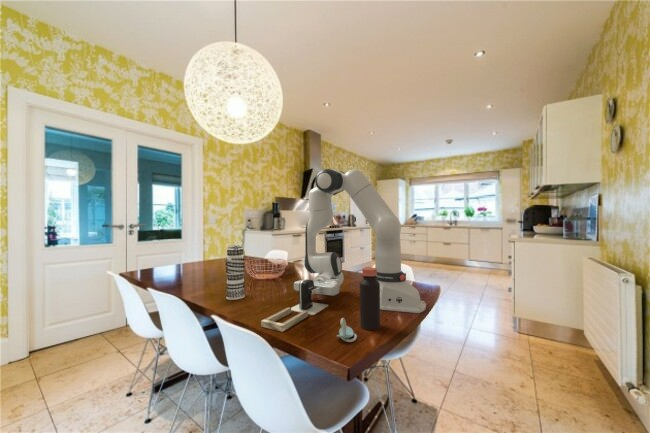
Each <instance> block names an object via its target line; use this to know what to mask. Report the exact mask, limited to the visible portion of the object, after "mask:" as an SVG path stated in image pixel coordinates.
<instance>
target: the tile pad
mask: <svg viewBox="0 0 650 433" xmlns="http://www.w3.org/2000/svg"><path fill="white" fill-rule="evenodd" d="M312 304H313V306H312V307H310V308H308V309H306V310H303V309H299V303H298V304H296V305H294V306H292V307H290V308H291V312H297V313H301V312H303V311H308V315H310V316H314V315H316V314H318V313H320V312H321V311H323V310H324V309H325V308H328V307H329V304H326V303H319V302H313V301H312Z"/></svg>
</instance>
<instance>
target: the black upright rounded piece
mask: <svg viewBox="0 0 650 433" xmlns="http://www.w3.org/2000/svg"><path fill="white" fill-rule="evenodd" d="M302 280H303V281H301V282H300V284H299V291H298V298H299V300H298V301H299V302H298V304H299V309H303V310H306V309H308V308H310V307H312V306H313V304H312V302H313V301H312V294H310V290H311V289H314V282H313V280H314V279H308V278H306V279H302Z"/></svg>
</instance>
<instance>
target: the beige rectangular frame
mask: <svg viewBox="0 0 650 433" xmlns="http://www.w3.org/2000/svg"><path fill="white" fill-rule="evenodd" d="M291 308H292V307H286V308H284V309H281V310H280V311H278V312H276V313H274V314H272V315H270V316H268V317H265V318H264V319H261V321H260V327H261V328H265V329H269V330H274V331H277V332H281V333H283V332H285V331H286V330H289V329H290V328H291V327H293V326H295V325H296V324H298V323H300V322H301V321H303V320H304V319H306V318H308V317H309V314H308V311H303V312H301V313H300V312H298V314H296V315H294V316H292V317H291V318H289V319H287V320H285V321H284V322H277V321H279V320H281V319H283V318H285V317H286V316H288V315H290V314H292V311H291Z"/></svg>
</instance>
